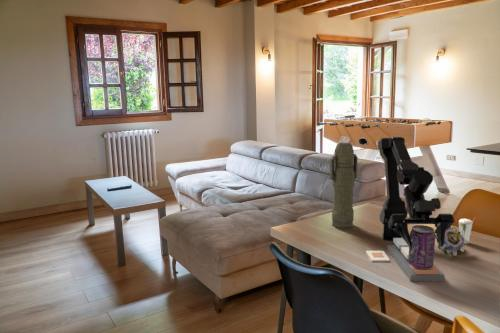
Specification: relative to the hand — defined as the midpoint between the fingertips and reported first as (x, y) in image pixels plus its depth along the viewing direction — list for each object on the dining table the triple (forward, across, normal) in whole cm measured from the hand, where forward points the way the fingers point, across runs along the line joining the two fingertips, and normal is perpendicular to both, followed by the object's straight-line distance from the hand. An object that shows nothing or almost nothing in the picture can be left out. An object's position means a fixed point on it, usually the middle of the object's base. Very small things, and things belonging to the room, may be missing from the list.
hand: (426, 246), depth 124 cm
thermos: (-27, -16, +42) cm, 53 cm away
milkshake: (-13, +25, +28) cm, 40 cm away
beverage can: (+4, -1, +6) cm, 7 cm away
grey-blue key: (-8, 0, +18) cm, 20 cm away
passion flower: (-7, +16, +22) cm, 28 cm away
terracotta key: (+5, 0, +7) cm, 8 cm away
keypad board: (0, 0, +14) cm, 14 cm away
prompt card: (-4, -10, +18) cm, 21 cm away
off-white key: (-2, 0, +12) cm, 12 cm away
